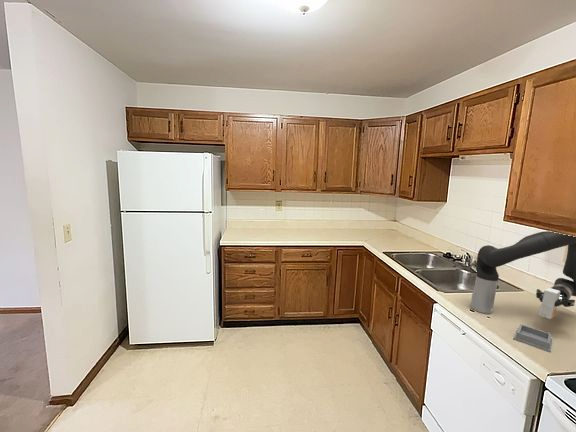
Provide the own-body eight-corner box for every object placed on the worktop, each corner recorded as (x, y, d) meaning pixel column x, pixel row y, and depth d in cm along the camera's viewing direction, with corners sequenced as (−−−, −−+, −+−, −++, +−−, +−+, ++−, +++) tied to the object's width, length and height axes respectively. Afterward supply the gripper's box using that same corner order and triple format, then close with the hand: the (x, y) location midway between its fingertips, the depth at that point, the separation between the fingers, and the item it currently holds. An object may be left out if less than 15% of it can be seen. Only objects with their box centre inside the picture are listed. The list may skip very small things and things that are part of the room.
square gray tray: (513, 339, 128) (514, 332, 127) (517, 329, 136) (518, 322, 136) (550, 352, 120) (552, 344, 119) (552, 340, 128) (553, 333, 128)
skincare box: (551, 319, 130) (557, 293, 128) (538, 315, 133) (544, 289, 131) (555, 316, 133) (560, 290, 131) (543, 312, 137) (548, 287, 135)
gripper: (541, 280, 145) (530, 287, 135) (581, 292, 134) (572, 300, 124) (538, 295, 147) (526, 303, 137) (577, 307, 135) (568, 317, 125)
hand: (548, 301), depth 130 cm, fingers closed on skincare box, 4 cm apart
